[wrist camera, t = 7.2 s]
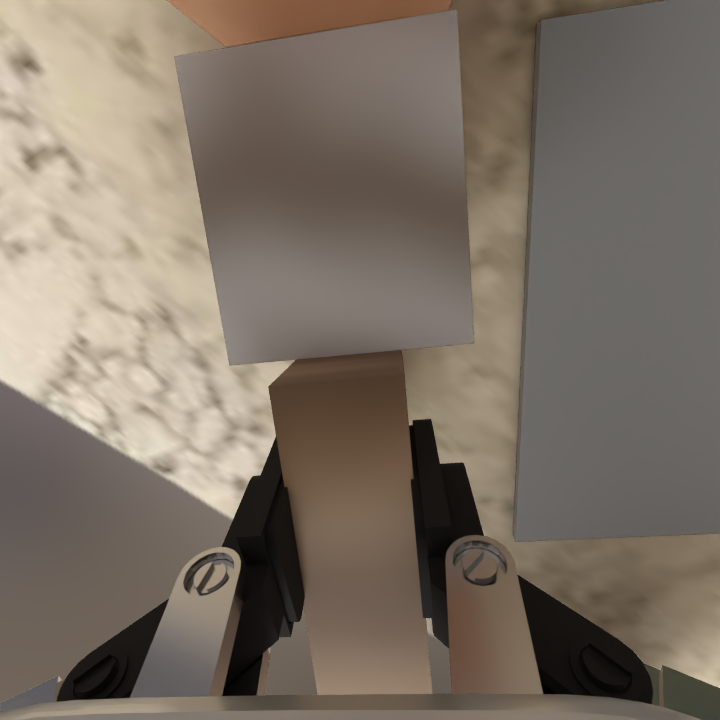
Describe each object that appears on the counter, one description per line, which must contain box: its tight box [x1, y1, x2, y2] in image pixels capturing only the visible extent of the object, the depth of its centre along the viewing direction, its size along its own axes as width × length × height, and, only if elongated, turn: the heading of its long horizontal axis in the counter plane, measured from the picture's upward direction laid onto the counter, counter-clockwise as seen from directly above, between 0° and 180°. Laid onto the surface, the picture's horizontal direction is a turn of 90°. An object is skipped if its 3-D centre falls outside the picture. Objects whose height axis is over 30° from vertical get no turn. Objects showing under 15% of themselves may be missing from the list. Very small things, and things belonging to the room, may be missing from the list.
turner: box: [175, 9, 474, 695], centre depth 11 cm, size 20×7×4 cm, turn 7°
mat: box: [513, 0, 720, 542], centre depth 18 cm, size 24×12×1 cm, turn 7°
